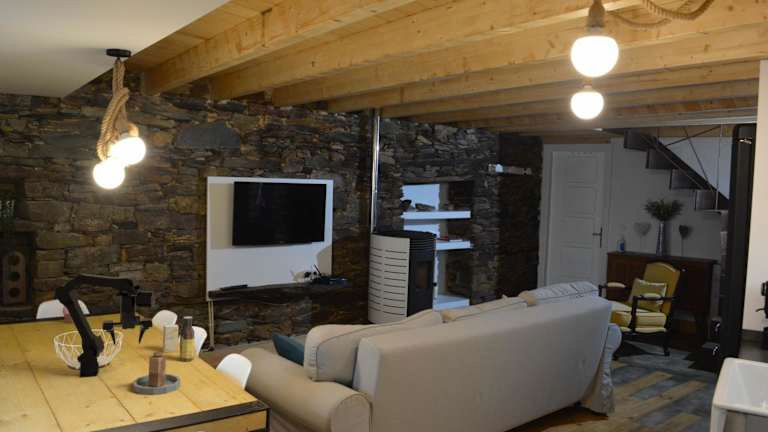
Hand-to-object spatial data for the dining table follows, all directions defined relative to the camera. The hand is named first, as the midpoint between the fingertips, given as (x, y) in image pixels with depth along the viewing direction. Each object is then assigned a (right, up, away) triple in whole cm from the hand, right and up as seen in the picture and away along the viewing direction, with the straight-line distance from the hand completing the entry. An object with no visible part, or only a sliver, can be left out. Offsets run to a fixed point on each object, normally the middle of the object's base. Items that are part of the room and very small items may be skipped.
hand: (127, 344), depth 245 cm
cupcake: (-66, -6, +82) cm, 105 cm away
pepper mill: (+16, -14, -11) cm, 24 cm away
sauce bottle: (+16, -13, +25) cm, 32 cm away
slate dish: (+16, -14, -11) cm, 24 cm away
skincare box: (+4, -11, +38) cm, 40 cm away
